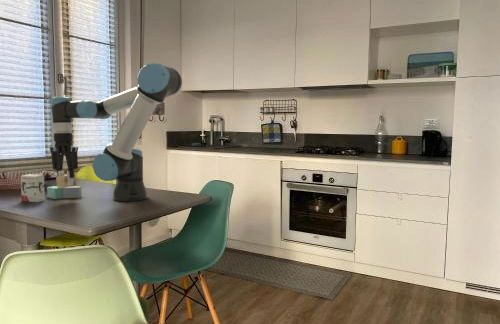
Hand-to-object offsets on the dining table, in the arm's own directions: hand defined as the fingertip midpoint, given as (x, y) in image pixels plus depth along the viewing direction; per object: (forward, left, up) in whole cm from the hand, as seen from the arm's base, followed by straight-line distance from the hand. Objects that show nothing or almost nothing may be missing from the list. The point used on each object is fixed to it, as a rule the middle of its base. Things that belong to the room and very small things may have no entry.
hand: (66, 185), depth 178 cm
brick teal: (+12, -6, -7) cm, 15 cm away
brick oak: (0, 0, -1) cm, 1 cm away
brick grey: (+5, -9, -7) cm, 13 cm away
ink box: (+15, +4, -7) cm, 17 cm away
